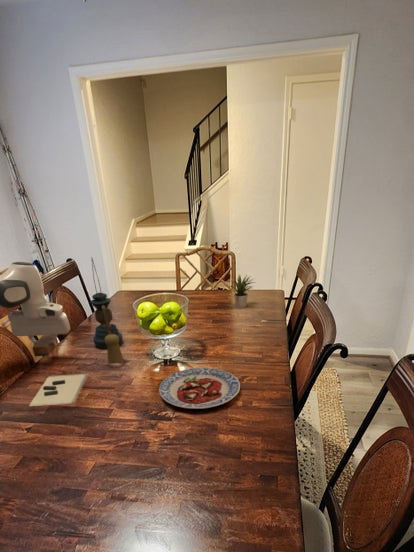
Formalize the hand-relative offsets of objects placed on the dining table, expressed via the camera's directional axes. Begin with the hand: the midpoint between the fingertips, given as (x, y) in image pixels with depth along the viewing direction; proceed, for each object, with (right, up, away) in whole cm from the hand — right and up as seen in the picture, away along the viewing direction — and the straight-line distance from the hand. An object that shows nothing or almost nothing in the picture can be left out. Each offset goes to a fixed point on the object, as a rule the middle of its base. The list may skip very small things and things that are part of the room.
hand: (45, 345), depth 139 cm
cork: (+26, -7, +2) cm, 27 cm away
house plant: (+78, +27, +52) cm, 98 cm away
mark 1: (+9, -17, -16) cm, 25 cm away
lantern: (+19, +3, +18) cm, 26 cm away
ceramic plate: (+58, -18, -20) cm, 64 cm away
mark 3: (+10, -15, -13) cm, 23 cm away
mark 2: (+10, -19, -19) cm, 29 cm away
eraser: (0, -1, +1) cm, 2 cm away
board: (+12, -18, -16) cm, 27 cm away
